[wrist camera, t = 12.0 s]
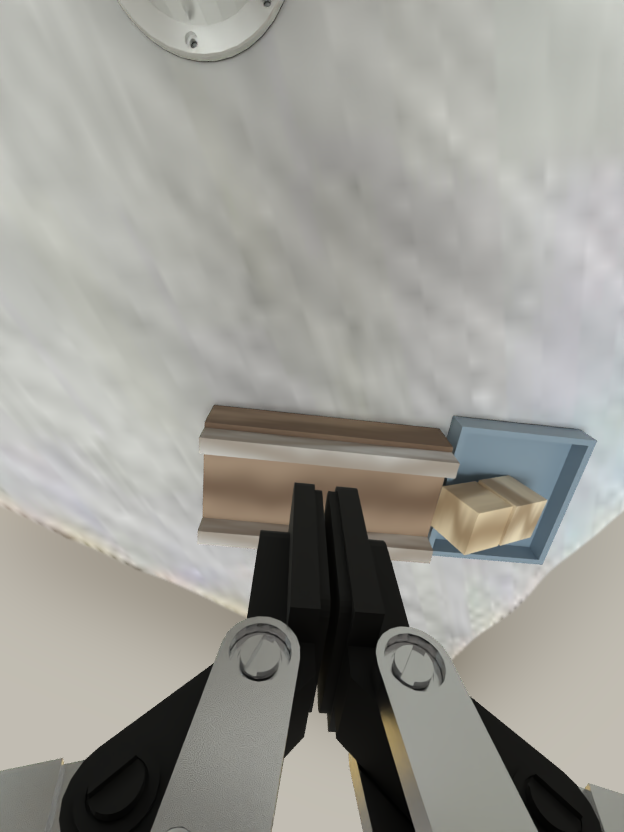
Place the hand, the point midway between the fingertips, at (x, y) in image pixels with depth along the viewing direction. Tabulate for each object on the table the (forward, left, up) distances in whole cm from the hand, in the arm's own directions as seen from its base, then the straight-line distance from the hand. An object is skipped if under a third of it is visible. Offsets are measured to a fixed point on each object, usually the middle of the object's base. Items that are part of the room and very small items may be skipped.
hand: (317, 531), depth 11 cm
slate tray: (+14, +22, -27) cm, 37 cm away
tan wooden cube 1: (+14, +16, -24) cm, 32 cm away
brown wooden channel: (+14, +3, -27) cm, 31 cm away
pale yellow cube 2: (+14, +19, -23) cm, 33 cm away
